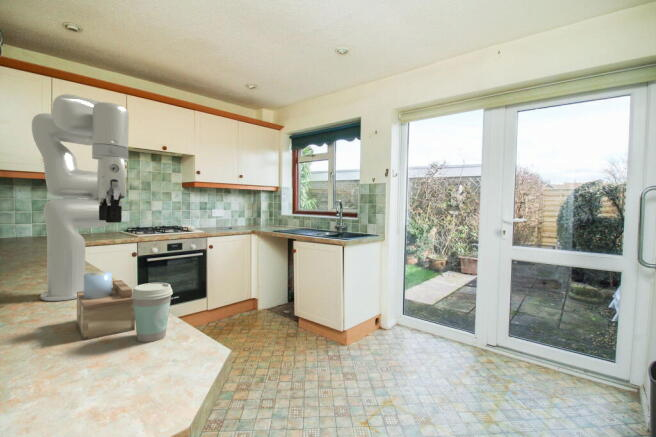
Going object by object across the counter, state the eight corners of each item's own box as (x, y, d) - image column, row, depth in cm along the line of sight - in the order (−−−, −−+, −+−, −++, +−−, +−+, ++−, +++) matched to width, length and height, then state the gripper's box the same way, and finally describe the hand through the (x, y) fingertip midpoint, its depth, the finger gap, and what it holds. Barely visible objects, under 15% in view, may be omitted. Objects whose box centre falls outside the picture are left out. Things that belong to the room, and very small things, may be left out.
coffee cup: (154, 346, 69) (155, 292, 68) (121, 342, 71) (121, 289, 70) (179, 332, 77) (180, 283, 77) (149, 328, 79) (150, 280, 79)
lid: (76, 294, 81) (76, 284, 81) (122, 289, 88) (122, 279, 88) (84, 309, 70) (84, 297, 70) (135, 301, 77) (135, 290, 77)
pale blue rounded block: (109, 291, 82) (109, 270, 82) (113, 296, 78) (113, 274, 78) (82, 295, 78) (82, 273, 78) (85, 300, 74) (85, 277, 74)
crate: (76, 322, 81) (77, 295, 81) (122, 314, 88) (122, 289, 87) (83, 340, 71) (84, 309, 70) (134, 329, 78) (135, 301, 77)
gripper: (136, 152, 76) (134, 223, 77) (120, 159, 89) (119, 219, 89) (97, 148, 71) (97, 223, 72) (87, 155, 84) (86, 219, 84)
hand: (109, 221), depth 80 cm, fingers open, 9 cm apart
